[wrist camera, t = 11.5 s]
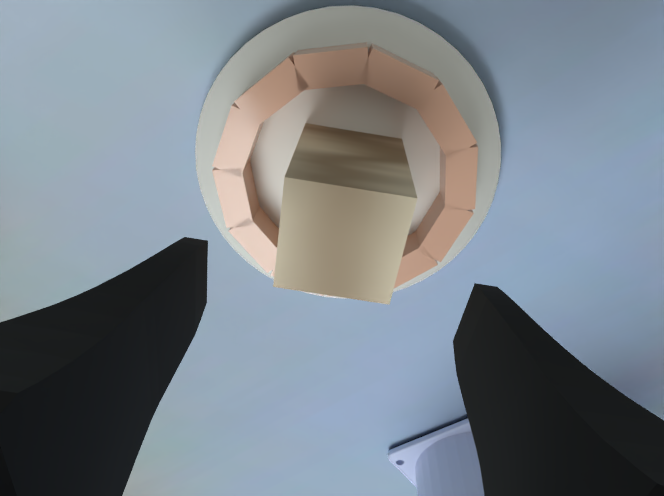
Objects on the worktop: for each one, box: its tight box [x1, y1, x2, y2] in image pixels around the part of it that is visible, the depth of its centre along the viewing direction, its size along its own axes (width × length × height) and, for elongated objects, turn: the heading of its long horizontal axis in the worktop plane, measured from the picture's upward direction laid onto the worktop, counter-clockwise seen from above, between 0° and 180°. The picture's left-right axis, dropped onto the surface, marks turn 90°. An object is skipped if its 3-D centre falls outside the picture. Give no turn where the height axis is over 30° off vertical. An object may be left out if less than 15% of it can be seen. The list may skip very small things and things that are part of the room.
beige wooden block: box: [273, 123, 417, 304], centre depth 17 cm, size 4×4×6 cm
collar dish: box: [195, 5, 501, 298], centre depth 20 cm, size 13×13×2 cm
